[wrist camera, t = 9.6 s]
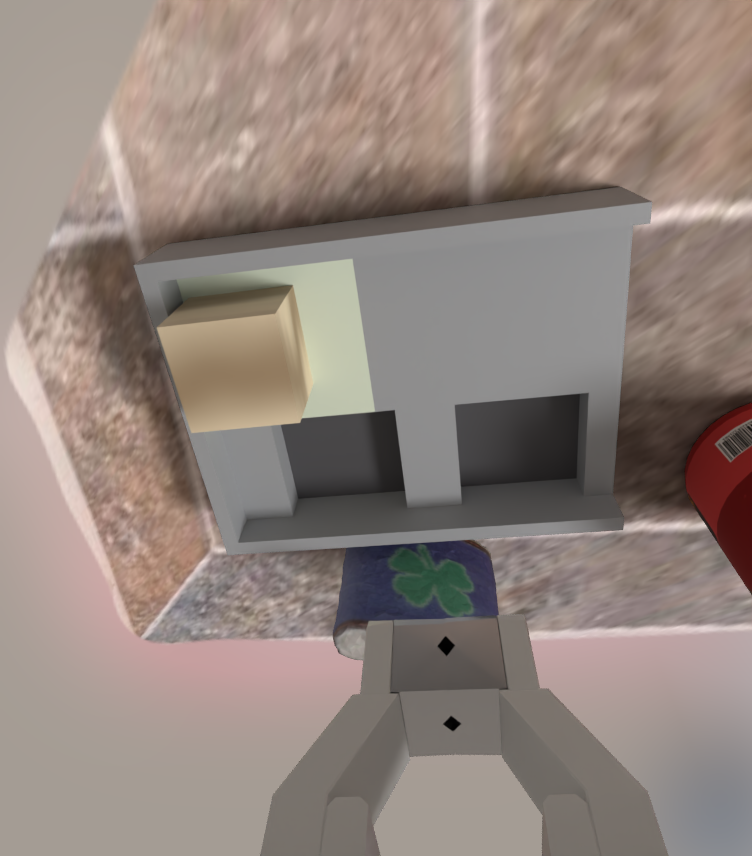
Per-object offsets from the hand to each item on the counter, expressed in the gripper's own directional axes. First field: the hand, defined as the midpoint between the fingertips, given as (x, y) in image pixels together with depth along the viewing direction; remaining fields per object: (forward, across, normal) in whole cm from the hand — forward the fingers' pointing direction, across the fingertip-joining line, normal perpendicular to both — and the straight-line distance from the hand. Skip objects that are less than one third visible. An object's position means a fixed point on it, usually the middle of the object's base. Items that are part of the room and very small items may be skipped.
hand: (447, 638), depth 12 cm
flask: (+21, +2, +15) cm, 26 cm away
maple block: (+19, +9, 0) cm, 20 cm away
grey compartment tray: (+21, +2, +4) cm, 21 cm away
